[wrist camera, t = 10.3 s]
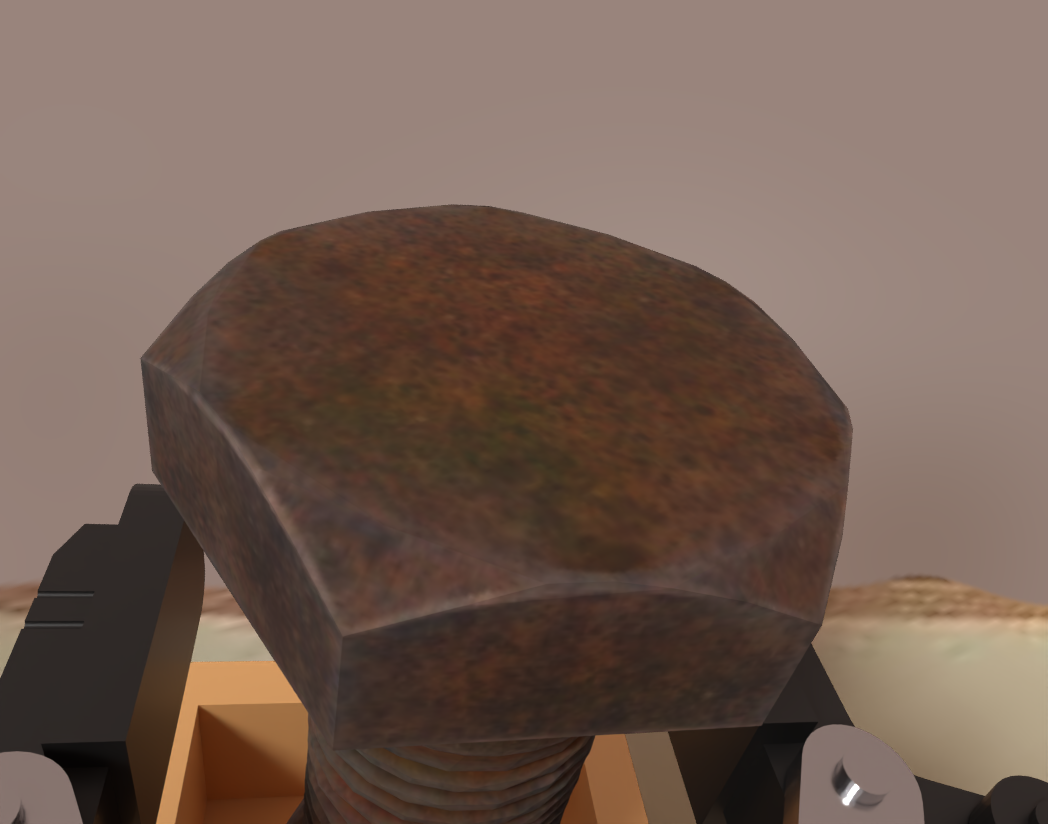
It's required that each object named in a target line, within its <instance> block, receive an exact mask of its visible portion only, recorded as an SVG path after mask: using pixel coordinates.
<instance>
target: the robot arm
mask: <svg viewBox="0 0 1048 824" xmlns="http://www.w3.org/2000/svg"><path fill="white" fill-rule="evenodd" d="M204 582H205V564H204V550H203V549H202V547H201V546H200V544H199V543H198V541H197V540H196V538H195V536H194V535H193V533H192V532H191V530H190V529H189V527H188V526H187V524H186V522H185V521H184V519H183V518H182V516H181V515H180V513H179V512H178V510H177V508H176V507H175V505H174V504H173V502H172V501H171V499H170V498H169V496H168V495H167V493H166V491H165V490H164V488H163V487H162V485H156V484H135V485H134V486H133V487H132V489H131V491H130V493H129V496H128V499H127V502H126V505H125V507H124V510H123V513H122V516H121V519H120V521H119V524H118V525H109V524H107V525H106V524H84V525H83V526H82V527H81V528H80V529H79V530H78V531H77V532H76V533H75V534H74V535H73V536H72V537H71V538H70V539H69V540H68V541H67V542H66V543H65V544H64V545H63V546H62V547H61V548H60V549H59V550H57V551H56V552H55V553H54V554H53V556H52V558H51V561H50V563H49V566H48V568H47V570H46V573H45V575H44V577H43V580H42V582H41V584H40V587H39V589H38V596H37V598H34V601H33V603H32V605H31V608H30V610H29V612H28V615H27V617H26V619H25V627H24V629H21V631H20V634H19V636H18V638H17V641H16V643H15V645H14V648H13V650H12V652H11V655H10V657H9V659H8V662H7V664H6V666H5V669H4V671H3V673H2V676H1V678H0V824H156V822H157V817H158V812H159V808H160V803H161V798H162V794H163V789H164V784H165V780H166V775H167V770H168V766H169V761H170V756H171V751H172V747H173V742H174V737H175V733H176V728H177V723H178V719H179V714H180V709H181V705H182V700H183V695H184V691H185V686H186V681H187V677H188V672H189V667H190V663H191V658H192V653H193V649H194V644H195V639H196V635H197V630H198V625H199V621H200V616H201V610H202V604H203V595H204ZM668 733H669V736H670V740H671V743H672V746H673V749H674V752H675V756H676V759H677V762H678V765H679V768H680V772H681V775H682V778H683V781H684V784H685V788H686V791H687V794H688V797H689V800H690V803H691V807H692V810H693V813H694V816H695V819H696V823H697V824H1048V783H1047V782H1044V781H1042V780H1039V779H1036V778H1032V777H1028V776H1010V777H1007V778H1004V779H1002V780H1001V781H1000V782H998V783H997V784H996V785H995V786H994V787H993V788H992V790H991V791H990V792H989V793H988V794H987V795H986V796H983V795H979V794H976V793H972V792H969V791H965V790H962V789H958V788H955V787H951V786H948V785H944V784H941V783H937V782H934V781H930V780H927V779H923V778H921V777H918V776H915V775H913V773H912V772H911V770H910V769H909V767H908V766H907V764H906V763H905V762H904V761H903V760H902V758H901V757H900V756H899V755H898V754H897V753H896V752H895V751H894V750H893V749H892V748H891V747H890V746H888V745H887V744H886V743H884V742H883V741H882V740H880V739H879V738H877V737H875V736H874V735H872V734H870V733H868V732H866V731H864V730H861V729H859V728H855V726H854V725H853V723H852V721H851V720H850V718H849V716H848V714H847V712H846V710H845V708H844V706H843V704H842V702H841V701H840V699H839V697H838V695H837V693H836V691H835V689H834V687H833V685H832V683H831V681H830V679H829V677H828V675H827V673H826V671H825V669H824V667H823V666H822V664H821V662H820V660H819V658H818V656H817V654H816V652H815V650H814V648H813V646H812V644H810V646H809V647H808V649H807V651H806V652H805V654H804V656H803V657H802V659H801V661H800V662H799V664H798V666H797V667H796V669H795V671H794V672H793V674H792V676H791V677H790V679H789V681H788V682H787V684H786V686H785V687H784V689H783V691H782V692H781V694H780V696H779V697H778V699H777V701H776V702H775V704H774V706H773V707H772V709H771V711H770V712H769V714H768V716H767V717H766V719H765V721H764V722H763V724H762V726H751V727H734V728H717V729H699V730H682V731H668Z"/></svg>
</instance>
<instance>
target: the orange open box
mask: <svg viewBox="0 0 1048 824" xmlns="http://www.w3.org/2000/svg"><path fill="white" fill-rule="evenodd" d="M308 728H309V727H308V712H307V710H306V709H305V707H304V705H303V704H302V702H301V701H300V699H299V698H298V696H297V695H296V693H295V692H294V690H293V688H292V687H291V685H290V684H289V682H288V681H287V679H286V678H285V676H284V674H283V673H282V671H281V670H280V668H279V667H278V665H277V664H276V662H275V661H237V662H191V663H190V667H189V672H188V677H187V681H186V686H185V691H184V695H183V700H182V705H181V709H180V714H179V719H178V723H177V728H176V733H175V737H174V742H173V747H172V751H171V756H170V761H169V766H168V770H167V775H166V780H165V784H164V789H163V794H162V798H161V803H160V808H159V812H158V817H157V822H156V824H286V823H287V822H288V820H289V819H290V817H291V816H292V814H293V813H294V811H295V810H296V809H297V807H298V806H299V804H300V803H301V801H302V800H303V798H304V793H305V771H306V764H307V751H308V741H307V739H308ZM560 824H649V823H648V819H647V816H646V812H645V808H644V804H643V801H642V797H641V793H640V789H639V786H638V782H637V778H636V774H635V771H634V767H633V763H632V759H631V756H630V752H629V748H628V744H627V741H626V737H625V734H613V735H596V736H595V739H594V742H593V745H592V748H591V751H590V753H589V755H588V756H587V757H586V759H585V762H584V764H583V766H582V769H581V772H580V776H579V780H578V782H577V784H576V785H575V787H574V789H573V791H572V793H571V795H570V799H569V802H568V804H567V806H566V808H565V810H564V813H563V816H562V820H561V823H560Z"/></svg>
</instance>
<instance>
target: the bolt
mask: <svg viewBox="0 0 1048 824" xmlns="http://www.w3.org/2000/svg"><path fill="white" fill-rule="evenodd" d="M141 366H142V376H143V385H144V396H145V406H146V415H147V425H148V434H149V445H150V454H151V464H152V471H153V473H154V474H155V476H156V477H157V479H158V480H159V482H160V484H161V485H162V487H163V488H164V490H165V491H166V493H167V495H168V496H169V498H170V499H171V501H172V502H173V504H174V505H175V507H176V508H177V510H178V512H179V513H180V515H181V516H182V518H183V519H184V521H185V522H186V524H187V526H188V527H189V529H190V530H191V532H192V533H193V535H194V536H195V538H196V540H197V541H198V543H199V544H200V546H201V547H202V549H203V550H204V552H205V553H206V555H207V557H208V558H209V560H210V561H211V563H212V564H213V566H214V567H215V569H216V570H217V572H218V574H219V575H220V577H221V578H222V580H223V581H224V583H225V584H226V586H227V588H228V589H229V591H230V592H231V594H232V595H233V597H234V598H235V600H236V602H237V603H238V605H239V606H240V608H241V609H242V611H243V612H244V614H245V616H246V617H247V619H248V620H249V622H250V623H251V625H252V626H253V628H254V629H255V631H256V633H257V634H258V636H259V637H260V639H261V640H262V642H263V643H264V645H265V647H266V648H267V650H268V651H269V653H270V654H271V656H272V657H273V659H274V660H275V662H276V664H277V665H278V667H279V668H280V670H281V671H282V673H283V674H284V676H285V678H286V679H287V681H288V682H289V684H290V685H291V687H292V688H293V690H294V692H295V693H296V695H297V696H298V698H299V699H300V701H301V702H302V704H303V705H304V707H305V709H306V710H307V712H308V727H309V728H308V739H307V741H308V751H307V764H306V771H305V793H304V798H303V800H302V801H301V803H300V804H299V806H298V807H297V809H296V810H295V811H294V813H293V814H292V816H291V817H290V819H289V820H288V822H287V823H286V824H560V823H561V820H562V816H563V813H564V810H565V808H566V806H567V804H568V802H569V799H570V795H571V793H572V791H573V789H574V787H575V785H576V784H577V782H578V780H579V776H580V772H581V769H582V766H583V764H584V762H585V759H586V757H587V756H588V755H589V753H590V751H591V748H592V745H593V742H594V739H595V736H596V735H613V734H630V733H647V732H665V731H682V730H699V729H717V728H734V727H751V726H762V724H763V722H764V721H765V719H766V717H767V716H768V714H769V712H770V711H771V709H772V707H773V706H774V704H775V702H776V701H777V699H778V697H779V696H780V694H781V692H782V691H783V689H784V687H785V686H786V684H787V682H788V681H789V679H790V677H791V676H792V674H793V672H794V671H795V669H796V667H797V666H798V664H799V662H800V661H801V659H802V657H803V656H804V654H805V652H806V651H807V649H808V647H809V646H810V644H811V642H812V641H813V639H814V637H815V636H816V634H817V632H818V631H819V629H820V627H821V626H822V622H823V618H824V614H825V609H826V605H827V601H828V596H829V592H830V588H831V583H832V579H833V575H834V570H835V565H836V561H837V557H838V553H839V548H840V544H841V540H842V535H843V526H844V517H845V508H846V499H847V491H848V481H849V469H850V457H851V445H852V433H853V428H852V424H851V420H850V415H849V411H848V408H847V407H846V406H845V405H844V404H843V402H842V401H841V400H840V398H839V397H838V396H837V394H836V393H835V392H834V391H833V390H832V388H831V387H830V386H829V384H828V383H827V382H826V381H825V380H824V378H823V377H822V376H821V374H820V373H819V372H818V371H817V369H816V368H815V367H814V365H813V364H812V363H811V362H810V361H809V359H808V358H807V357H806V356H805V354H804V353H803V352H802V351H801V349H800V348H799V346H797V344H796V343H795V341H794V340H793V339H792V338H791V337H790V336H789V335H788V334H787V333H786V332H785V331H783V329H782V328H781V327H780V326H779V325H778V324H777V323H775V322H774V321H773V320H772V319H771V318H770V317H769V316H768V315H767V314H766V313H765V312H764V311H763V310H762V309H761V308H760V307H759V306H758V305H757V304H756V303H755V302H754V301H752V300H751V299H749V298H748V297H746V296H745V295H744V294H742V293H741V292H739V291H738V290H737V289H735V288H734V287H732V286H731V285H730V284H728V283H727V282H725V281H723V280H721V279H720V278H718V277H716V276H713V275H712V274H710V273H708V272H706V271H704V270H702V269H700V268H698V267H696V266H694V265H691V264H688V263H685V262H682V261H680V260H677V259H674V258H671V257H668V256H666V255H663V254H660V253H658V252H655V251H652V250H650V249H647V248H644V247H641V246H638V245H636V244H633V243H630V242H627V241H625V240H622V239H619V238H617V237H614V236H611V235H608V234H604V233H600V232H596V231H592V230H589V229H585V228H580V227H577V226H573V225H569V224H565V223H561V222H557V221H553V220H550V219H545V218H541V217H538V216H533V215H530V214H526V213H522V212H517V211H511V210H506V209H501V208H496V207H490V206H473V205H441V206H430V207H419V208H407V209H396V210H384V211H372V212H365V213H361V214H356V215H352V216H347V217H342V218H338V219H333V220H329V221H324V222H320V223H315V224H311V225H306V226H302V227H297V228H293V229H288V230H284V231H280V232H278V233H276V234H274V235H272V236H269V237H267V238H265V239H263V240H261V241H259V242H258V243H256V244H255V245H253V246H252V247H250V248H249V249H247V250H246V251H244V252H243V253H241V254H240V255H239V256H237V257H236V258H234V259H233V260H231V261H230V262H228V264H226V265H225V266H224V267H223V268H222V269H221V270H220V271H219V272H218V273H217V274H216V275H215V276H214V277H212V278H211V279H210V280H209V281H208V282H207V283H206V284H205V285H204V286H203V287H202V288H201V289H200V290H199V291H198V292H197V293H196V294H194V295H193V296H192V297H191V299H190V300H189V301H188V302H187V303H186V305H185V306H184V307H183V308H182V309H181V310H180V312H179V313H178V314H177V315H176V316H175V318H174V319H173V320H172V321H171V322H170V324H169V325H168V326H167V327H166V328H165V330H164V331H163V332H162V333H161V334H160V336H159V337H158V338H157V339H156V341H155V342H154V343H153V344H152V345H151V346H150V347H149V349H148V350H147V351H146V352H145V353H144V355H143V356H142V357H141Z"/></svg>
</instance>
